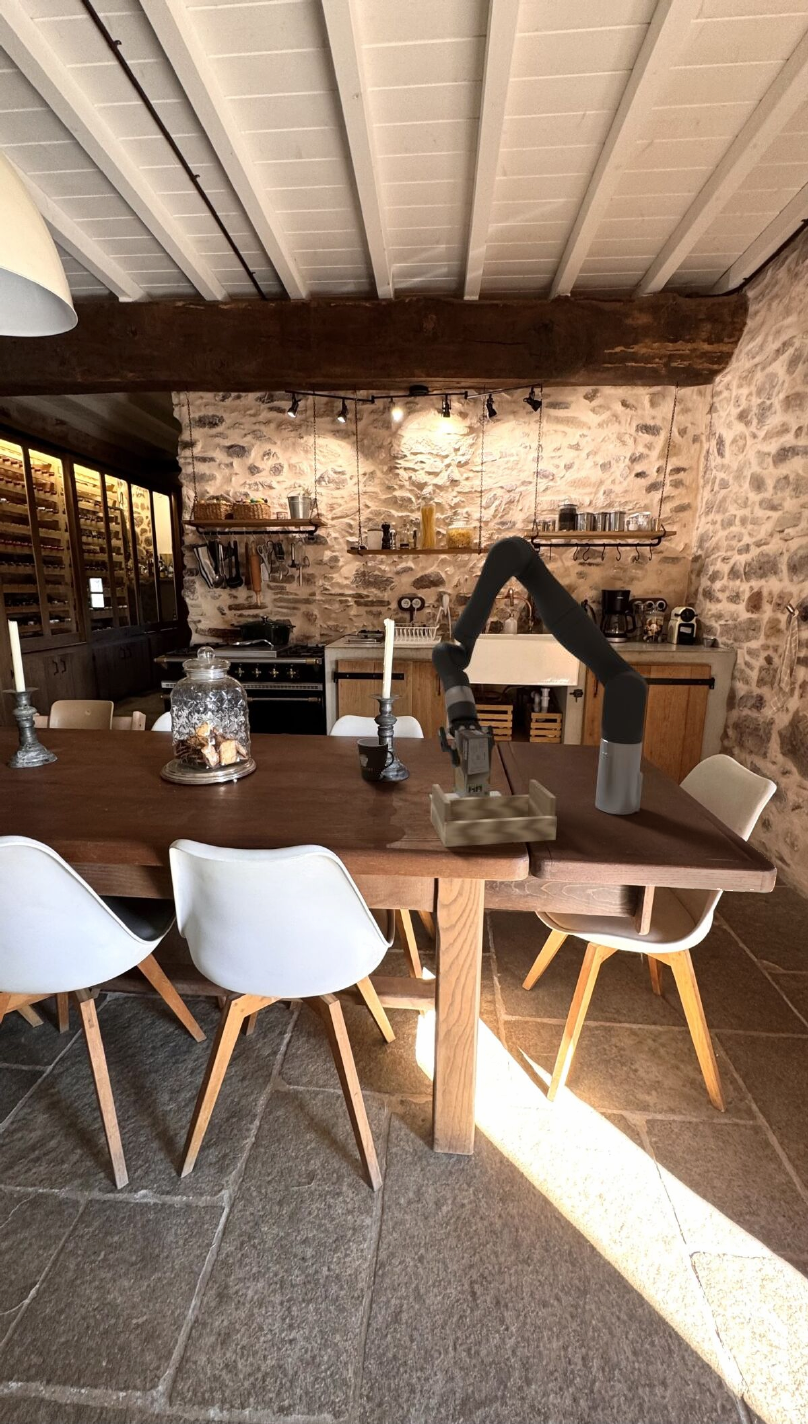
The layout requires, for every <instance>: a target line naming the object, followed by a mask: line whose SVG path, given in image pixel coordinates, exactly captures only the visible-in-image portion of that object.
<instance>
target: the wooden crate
mask: <svg viewBox="0 0 808 1424" xmlns="http://www.w3.org/2000/svg"><path fill="white" fill-rule="evenodd" d="M431 790H432V791H431V793H432V799H431V798H430V822H431V824H432V825H433V828H434V829H435V831H436V833H437V835H438V836H439V838H440V840H441V843H442V844H443V846H444V847H445V848H448V847H464V846H465V847H466V846H478V845H493V844H495V845H496V844H497V845H498V844H508V843H509V844H510V842H511V844H512V842H513V843H524V842H525V843H527V842H542V841H543V842H544V841H556V836H557V821H558V816H557V815H555V814H556V801H557V797H556V796H555V795H554V794H552V793H551V792H550V790H548V789H547V788H545V787H544V786H543V785H542V784H541V783H540V782H538V781H537V780H536V779H529V786H528V794H513V795H502V796H489V797H469V798H449V799H448V798H447V797H446V796H445V794H446V793H445V792H444V791H443V789H442V788H441V787H440V785H439V784H438V783H436V784H435V783H433V784H432V789H431Z"/></svg>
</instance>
